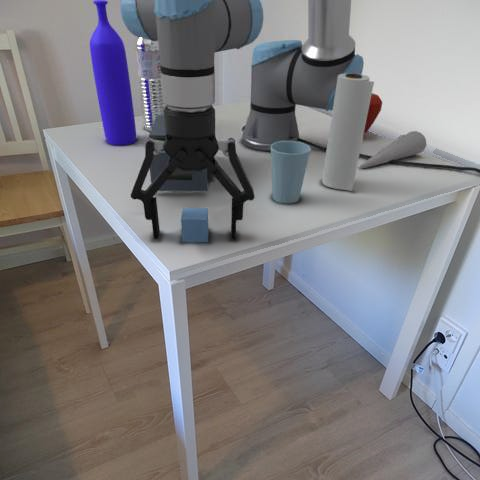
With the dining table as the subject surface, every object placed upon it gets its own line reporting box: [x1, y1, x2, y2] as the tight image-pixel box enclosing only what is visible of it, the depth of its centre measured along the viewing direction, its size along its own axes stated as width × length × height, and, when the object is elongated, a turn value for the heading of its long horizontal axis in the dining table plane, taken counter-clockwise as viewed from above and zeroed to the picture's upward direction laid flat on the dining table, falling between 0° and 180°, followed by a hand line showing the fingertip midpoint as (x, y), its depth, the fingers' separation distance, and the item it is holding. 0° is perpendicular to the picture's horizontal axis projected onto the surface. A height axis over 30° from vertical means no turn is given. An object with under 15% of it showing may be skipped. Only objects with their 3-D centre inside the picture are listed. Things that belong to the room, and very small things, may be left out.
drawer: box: [149, 139, 208, 192], centre depth 89 cm, size 18×11×8 cm, turn 2°
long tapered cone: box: [360, 130, 427, 169], centre depth 104 cm, size 6×6×19 cm
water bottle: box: [134, 36, 167, 132], centre depth 114 cm, size 7×7×25 cm
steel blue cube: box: [180, 207, 209, 243], centre depth 74 cm, size 4×4×4 cm
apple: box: [363, 92, 383, 135], centre depth 118 cm, size 11×11×12 cm
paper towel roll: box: [321, 73, 375, 192], centre depth 87 cm, size 7×6×21 cm
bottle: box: [89, 0, 137, 146], centre depth 104 cm, size 8×8×30 cm
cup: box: [270, 141, 311, 205], centre depth 85 cm, size 8×8×10 cm
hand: (195, 235), depth 75 cm, fingers open, 13 cm apart
